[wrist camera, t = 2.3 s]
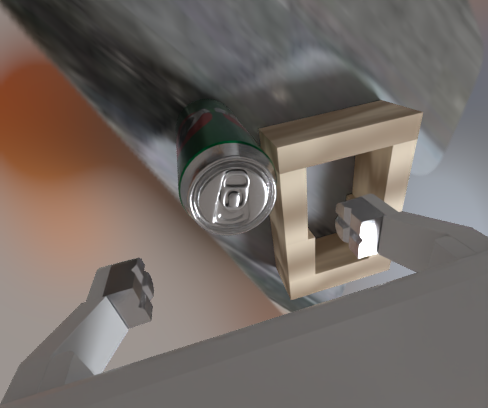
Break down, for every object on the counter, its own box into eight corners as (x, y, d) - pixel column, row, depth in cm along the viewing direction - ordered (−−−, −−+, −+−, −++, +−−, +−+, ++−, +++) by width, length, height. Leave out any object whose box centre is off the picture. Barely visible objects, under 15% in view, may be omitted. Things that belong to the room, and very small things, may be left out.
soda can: (176, 156, 23) (180, 245, 13) (174, 95, 21) (177, 147, 11) (233, 157, 24) (275, 238, 14) (237, 99, 22) (293, 149, 12)
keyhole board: (258, 128, 23) (277, 147, 19) (381, 100, 25) (423, 112, 21) (276, 267, 33) (291, 300, 29) (363, 242, 35) (388, 269, 31)
